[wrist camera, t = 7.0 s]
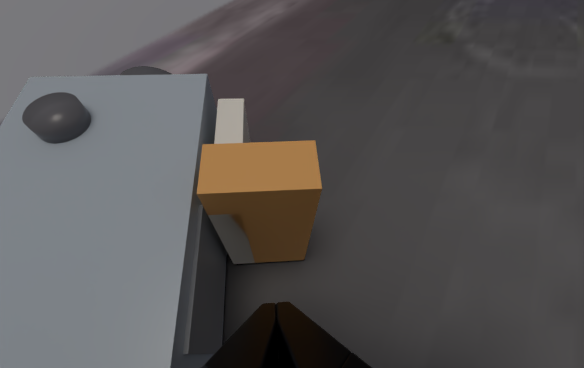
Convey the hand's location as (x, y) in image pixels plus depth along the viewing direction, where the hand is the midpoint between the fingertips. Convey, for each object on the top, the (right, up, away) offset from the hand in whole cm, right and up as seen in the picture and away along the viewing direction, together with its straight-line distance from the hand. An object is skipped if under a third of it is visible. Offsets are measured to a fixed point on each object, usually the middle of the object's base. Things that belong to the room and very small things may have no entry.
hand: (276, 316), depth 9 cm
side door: (-1, +2, +9) cm, 9 cm away
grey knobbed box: (-7, +1, +9) cm, 12 cm away
